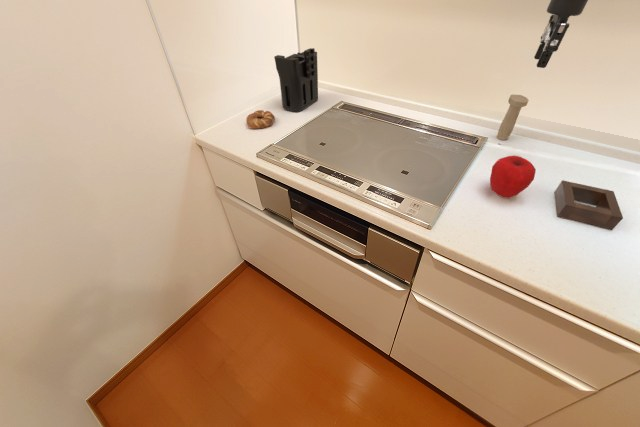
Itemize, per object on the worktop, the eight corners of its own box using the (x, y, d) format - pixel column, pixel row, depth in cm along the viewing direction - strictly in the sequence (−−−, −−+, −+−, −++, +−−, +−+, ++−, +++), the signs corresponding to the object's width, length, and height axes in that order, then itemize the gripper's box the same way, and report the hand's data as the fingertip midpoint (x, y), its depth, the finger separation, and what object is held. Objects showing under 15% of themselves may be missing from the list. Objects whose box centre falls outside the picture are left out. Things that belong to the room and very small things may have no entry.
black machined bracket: (279, 109, 125) (272, 52, 110) (305, 93, 138) (302, 40, 123) (302, 115, 120) (298, 56, 106) (327, 98, 133) (327, 43, 119)
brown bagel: (259, 133, 110) (258, 123, 107) (239, 125, 115) (237, 116, 112) (281, 121, 117) (280, 112, 114) (261, 114, 122) (260, 105, 119)
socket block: (603, 203, 76) (613, 191, 74) (612, 230, 69) (623, 218, 66) (554, 192, 80) (561, 180, 78) (557, 216, 73) (565, 204, 70)
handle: (495, 146, 99) (514, 102, 89) (490, 137, 103) (507, 94, 93) (510, 147, 98) (531, 102, 88) (504, 138, 103) (523, 94, 93)
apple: (484, 179, 85) (499, 145, 78) (522, 187, 82) (541, 153, 75) (481, 198, 79) (496, 164, 72) (521, 209, 75) (542, 173, 68)
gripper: (598, -6, 65) (557, 72, 76) (586, -12, 75) (551, 58, 86) (559, -8, 67) (525, 68, 78) (552, -14, 77) (522, 54, 88)
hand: (539, 63), depth 82 cm, fingers open, 8 cm apart
